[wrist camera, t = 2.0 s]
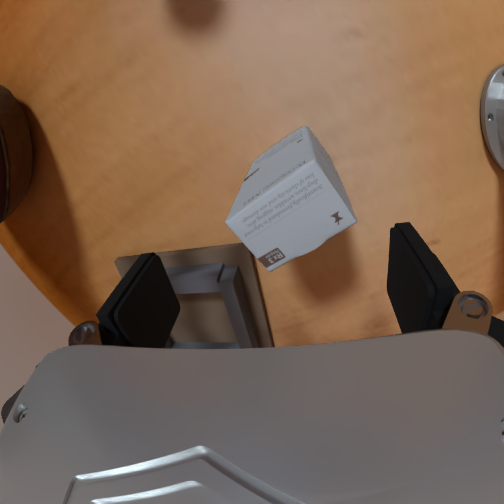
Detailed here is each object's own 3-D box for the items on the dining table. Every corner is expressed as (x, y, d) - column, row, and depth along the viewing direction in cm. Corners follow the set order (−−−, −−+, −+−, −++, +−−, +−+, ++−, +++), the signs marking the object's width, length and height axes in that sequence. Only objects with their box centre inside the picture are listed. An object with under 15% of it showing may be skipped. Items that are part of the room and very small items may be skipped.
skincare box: (305, 123, 23) (315, 149, 12) (334, 163, 24) (364, 221, 14) (250, 162, 25) (217, 218, 15) (280, 199, 27) (269, 277, 16)
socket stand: (249, 242, 30) (243, 263, 26) (274, 349, 38) (272, 373, 35) (117, 257, 33) (102, 275, 30) (165, 349, 42) (157, 368, 38)
